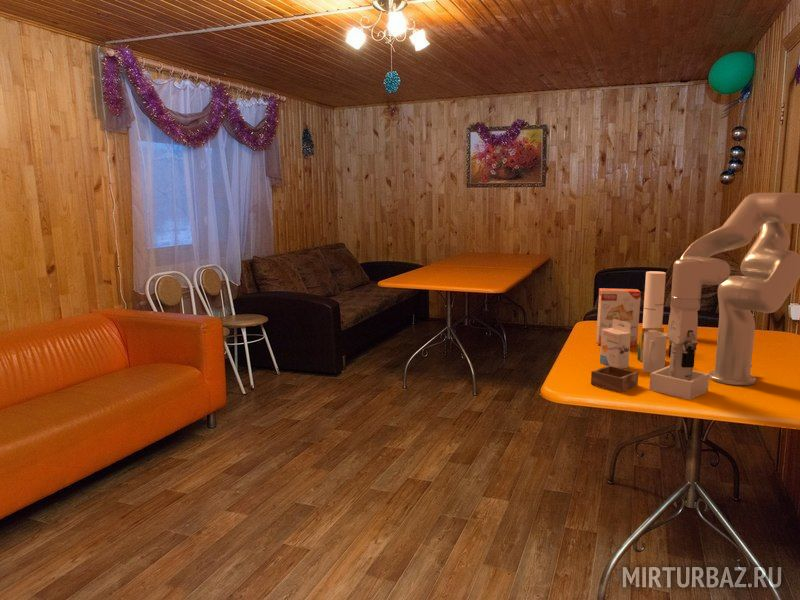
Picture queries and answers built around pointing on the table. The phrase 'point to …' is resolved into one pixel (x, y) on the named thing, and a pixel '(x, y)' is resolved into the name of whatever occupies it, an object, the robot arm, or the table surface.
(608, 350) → the ink box
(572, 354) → the table surface
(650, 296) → the cylindrical container
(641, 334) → the crayon box
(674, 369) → the energy drink can
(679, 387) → the grey bin
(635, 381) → the walnut holder
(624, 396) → the table surface
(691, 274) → the robot arm
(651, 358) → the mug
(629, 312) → the cracker box
